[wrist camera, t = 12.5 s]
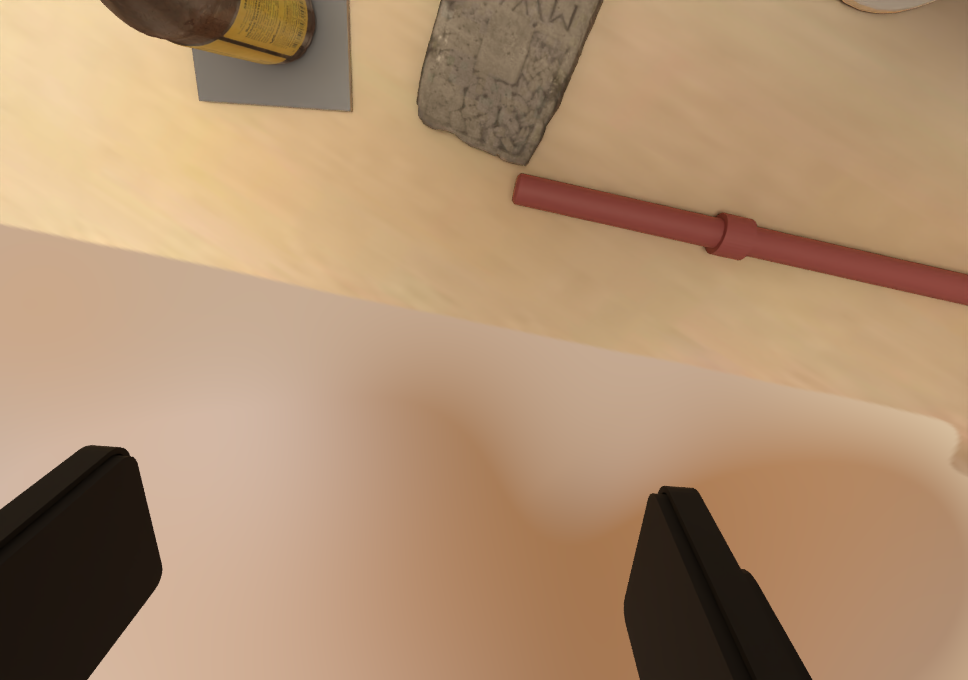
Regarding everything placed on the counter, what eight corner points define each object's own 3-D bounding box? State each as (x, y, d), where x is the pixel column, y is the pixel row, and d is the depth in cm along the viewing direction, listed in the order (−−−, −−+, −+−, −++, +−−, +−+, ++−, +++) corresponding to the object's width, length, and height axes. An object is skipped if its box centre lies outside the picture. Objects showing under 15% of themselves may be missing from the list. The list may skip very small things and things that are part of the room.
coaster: (346, -73, 33) (343, -77, 32) (352, 111, 37) (350, 111, 37) (178, -85, 33) (173, -89, 32) (203, 101, 37) (199, 100, 37)
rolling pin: (509, 206, 40) (510, 212, 37) (519, 165, 39) (520, 167, 36) (1035, 323, 42) (1075, 338, 39) (1059, 288, 41) (1102, 300, 38)
